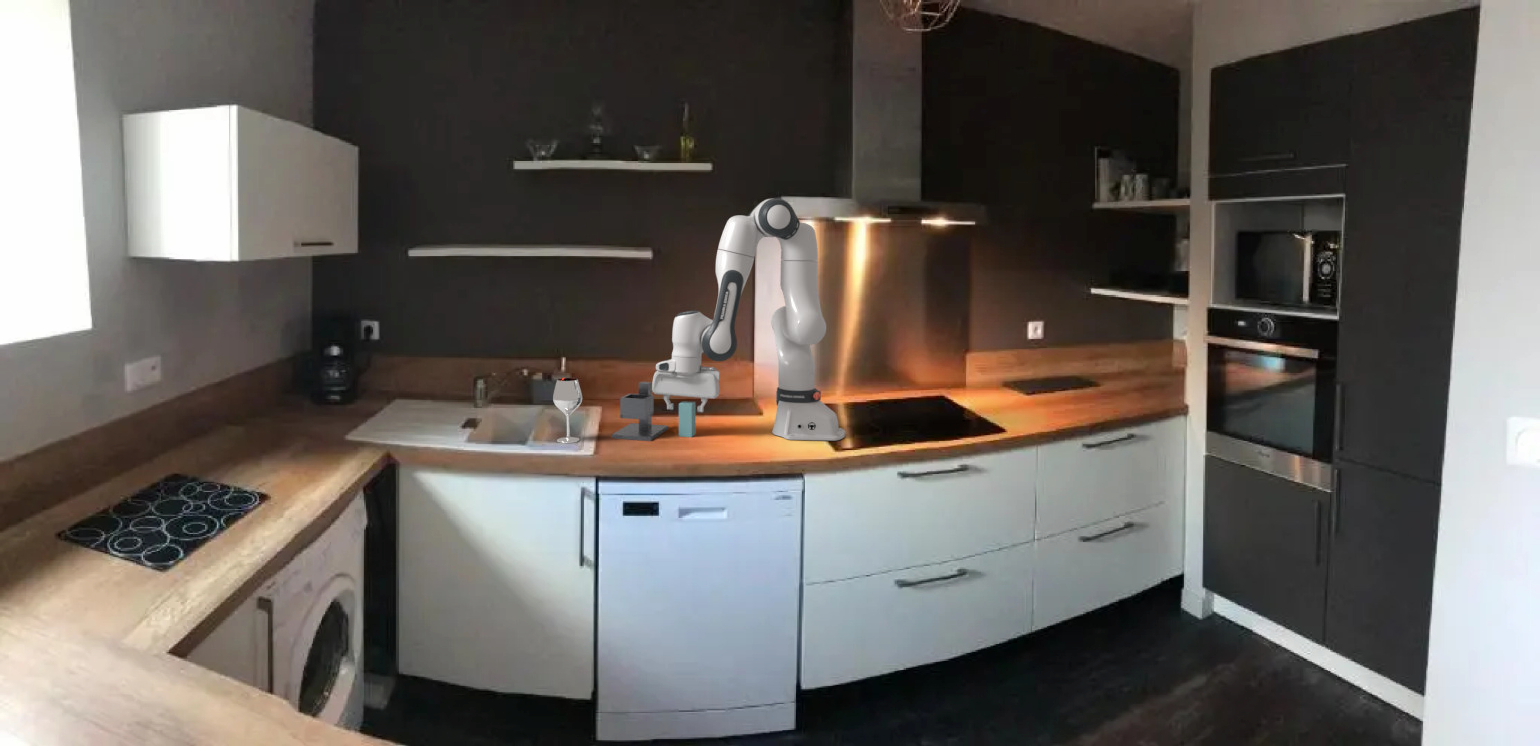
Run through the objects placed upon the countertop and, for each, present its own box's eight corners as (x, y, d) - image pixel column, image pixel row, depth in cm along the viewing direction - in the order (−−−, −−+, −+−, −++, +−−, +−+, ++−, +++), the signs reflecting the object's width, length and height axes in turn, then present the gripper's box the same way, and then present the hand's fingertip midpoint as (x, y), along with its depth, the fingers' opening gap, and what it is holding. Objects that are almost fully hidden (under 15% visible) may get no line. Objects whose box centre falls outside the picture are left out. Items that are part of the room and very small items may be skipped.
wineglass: (577, 436, 256) (576, 376, 253) (586, 441, 249) (586, 380, 246) (550, 439, 252) (548, 378, 249) (559, 445, 245) (558, 382, 242)
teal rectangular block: (695, 434, 261) (695, 402, 260) (691, 437, 257) (691, 404, 256) (682, 433, 262) (682, 401, 260) (678, 436, 258) (678, 403, 257)
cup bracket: (668, 429, 267) (668, 381, 265) (650, 441, 252) (650, 390, 249) (631, 426, 269) (631, 379, 267) (611, 438, 254) (611, 388, 252)
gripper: (722, 366, 257) (721, 411, 259) (657, 361, 261) (656, 406, 263) (717, 369, 251) (715, 415, 253) (650, 364, 255) (649, 410, 257)
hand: (685, 410), depth 258 cm, fingers open, 8 cm apart
